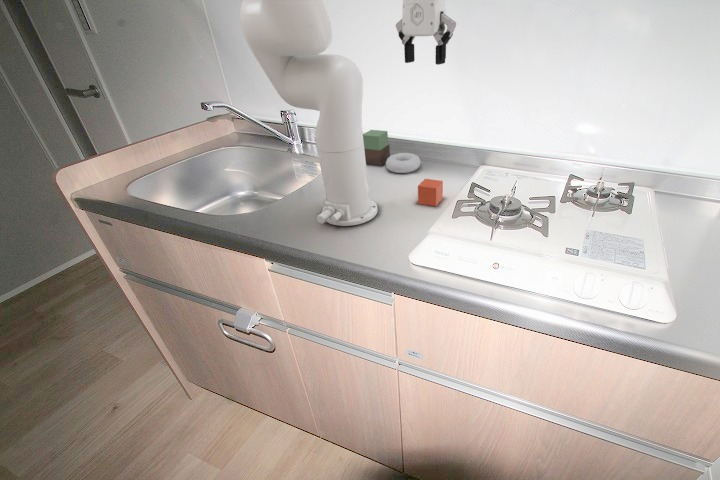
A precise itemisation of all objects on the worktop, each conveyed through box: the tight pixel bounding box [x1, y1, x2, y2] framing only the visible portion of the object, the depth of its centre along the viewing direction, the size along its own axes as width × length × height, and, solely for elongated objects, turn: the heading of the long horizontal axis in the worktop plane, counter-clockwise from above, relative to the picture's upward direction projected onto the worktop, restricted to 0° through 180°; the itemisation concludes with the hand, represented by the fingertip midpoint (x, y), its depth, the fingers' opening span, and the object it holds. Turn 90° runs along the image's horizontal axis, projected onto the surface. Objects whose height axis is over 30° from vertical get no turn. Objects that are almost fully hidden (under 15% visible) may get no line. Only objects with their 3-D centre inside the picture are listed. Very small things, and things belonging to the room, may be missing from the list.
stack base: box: [364, 144, 391, 167], centre depth 109 cm, size 6×6×4 cm
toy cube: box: [417, 178, 444, 207], centre depth 85 cm, size 4×4×4 cm
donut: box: [385, 152, 422, 174], centre depth 104 cm, size 10×4×10 cm
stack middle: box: [363, 129, 389, 151], centre depth 106 cm, size 6×6×4 cm
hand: (424, 63), depth 91 cm, fingers open, 9 cm apart
